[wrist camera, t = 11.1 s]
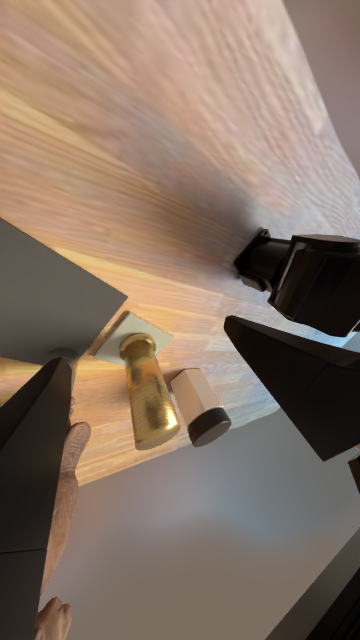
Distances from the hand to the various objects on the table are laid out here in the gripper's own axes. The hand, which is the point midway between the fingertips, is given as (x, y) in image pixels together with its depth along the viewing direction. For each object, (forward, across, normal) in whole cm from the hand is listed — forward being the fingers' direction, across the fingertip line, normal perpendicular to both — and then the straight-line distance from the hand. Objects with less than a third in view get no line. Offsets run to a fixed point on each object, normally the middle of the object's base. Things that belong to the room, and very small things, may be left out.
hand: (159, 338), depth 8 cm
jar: (+13, -8, +27) cm, 31 cm away
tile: (+13, +1, +12) cm, 18 cm away
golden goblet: (+12, +1, +12) cm, 17 cm away
